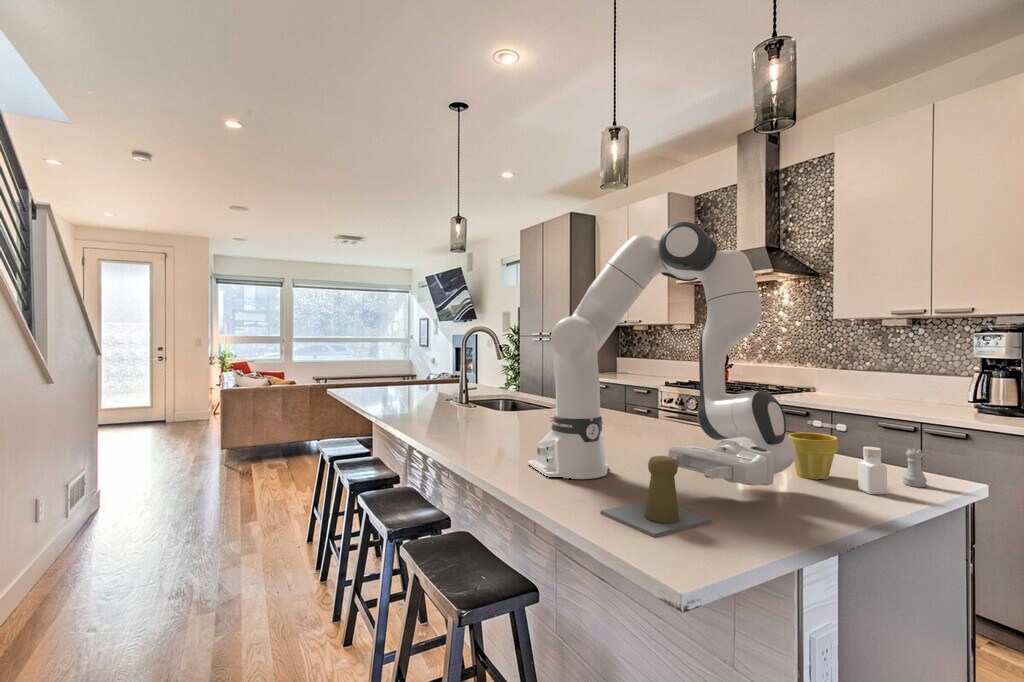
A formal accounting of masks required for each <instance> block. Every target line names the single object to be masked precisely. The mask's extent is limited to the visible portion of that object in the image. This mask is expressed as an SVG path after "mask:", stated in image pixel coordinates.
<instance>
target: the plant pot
mask: <svg viewBox="0 0 1024 682" xmlns="http://www.w3.org/2000/svg"><path fill="white" fill-rule="evenodd" d="M787 435H788V436H789V437H790V439H791V440H792V441H793V443H794V445H795V449H796V457H795V460H794V461H793V464H794V468H795V472H796V476H798V477H799V476H800V477H799V478H802V477H804V478H803V479H806V478H810V479H809V480H812V479H825V480H828V479H829V477H830V474H831V469H832V466H833V461H834V458H835V455H836V454H837V453H838V451H839V450H838V449H839V439H838V437H836V436H834V435H831V434H827V433H826V434H825V433H817V432H801V431H800V432H792V433H791V432H790V433H789V434H787ZM827 478H828V479H827Z"/></svg>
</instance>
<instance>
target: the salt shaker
mask: <svg viewBox="0 0 1024 682" xmlns="http://www.w3.org/2000/svg"><path fill="white" fill-rule="evenodd" d="M862 456H863V461H860V462H858V463H857V476H858V477H857V479H858V480H857V481H858V486H857V487H858V490H859V491H861V490H862V492H864V493H866V494H869V495H887V494H888V467H887V465H886V464H884V463H882V462H881V461H882V448H880V447H877V446H876V447H875V446H863V448H862Z"/></svg>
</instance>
